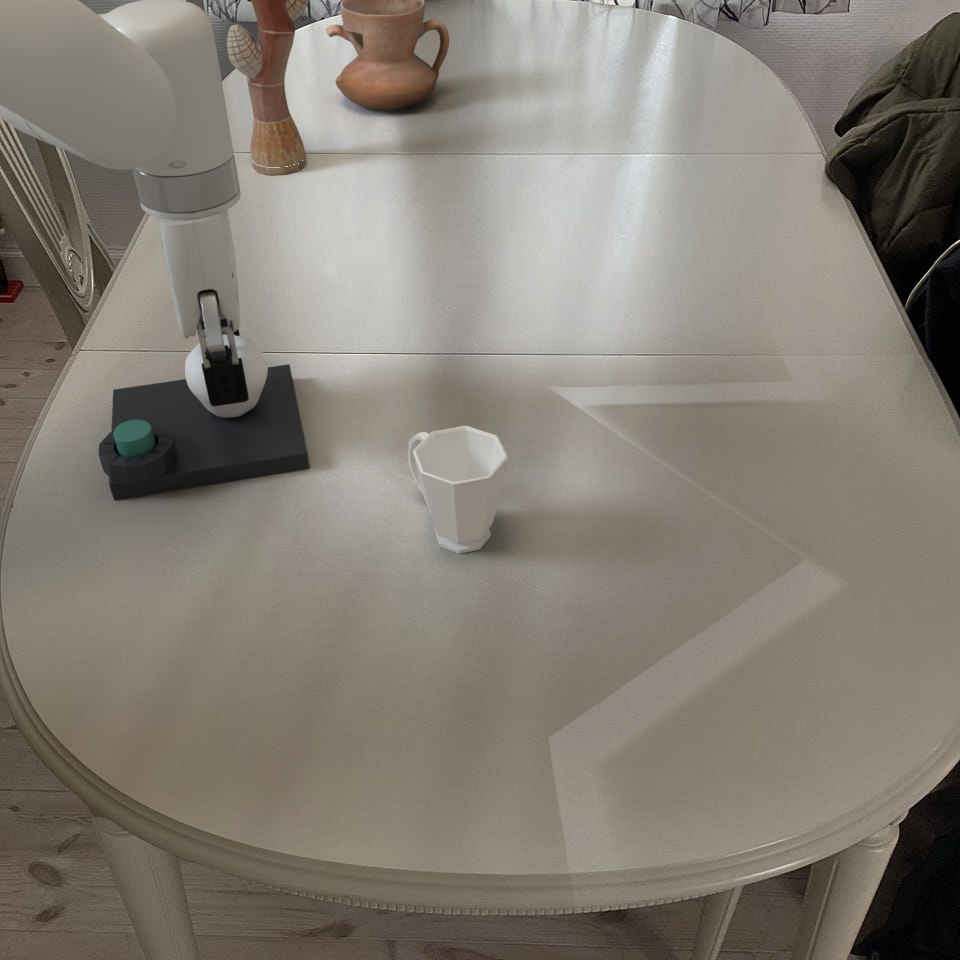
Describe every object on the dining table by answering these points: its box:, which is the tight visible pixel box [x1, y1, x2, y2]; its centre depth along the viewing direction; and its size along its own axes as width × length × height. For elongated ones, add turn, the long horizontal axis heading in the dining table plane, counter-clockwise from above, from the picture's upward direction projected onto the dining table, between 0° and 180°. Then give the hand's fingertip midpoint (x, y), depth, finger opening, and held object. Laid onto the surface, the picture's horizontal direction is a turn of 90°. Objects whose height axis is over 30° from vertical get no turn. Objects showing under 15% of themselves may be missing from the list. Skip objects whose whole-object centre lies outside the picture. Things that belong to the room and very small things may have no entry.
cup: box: [407, 425, 509, 555], centre depth 78 cm, size 7×10×8 cm
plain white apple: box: [184, 334, 269, 418], centre depth 88 cm, size 7×7×8 cm
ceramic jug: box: [325, 0, 450, 110], centre depth 150 cm, size 18×14×14 cm
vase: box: [226, 0, 309, 176], centre depth 127 cm, size 10×7×30 cm
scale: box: [98, 363, 310, 501], centre depth 88 cm, size 16×14×4 cm
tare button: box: [113, 420, 156, 458], centre depth 83 cm, size 3×3×2 cm
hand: (226, 375), depth 88 cm, fingers closed on plain white apple, 7 cm apart
